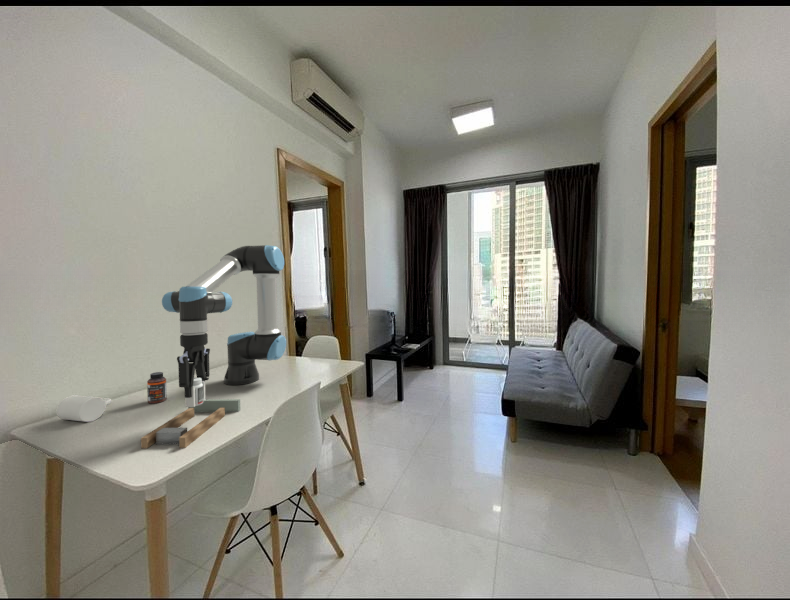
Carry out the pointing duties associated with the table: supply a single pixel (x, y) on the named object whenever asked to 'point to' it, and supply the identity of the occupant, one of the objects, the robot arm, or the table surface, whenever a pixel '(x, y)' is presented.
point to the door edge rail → (218, 405)
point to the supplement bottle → (156, 388)
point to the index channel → (181, 419)
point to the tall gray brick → (169, 435)
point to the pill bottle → (198, 391)
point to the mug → (82, 408)
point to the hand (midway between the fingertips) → (195, 403)
